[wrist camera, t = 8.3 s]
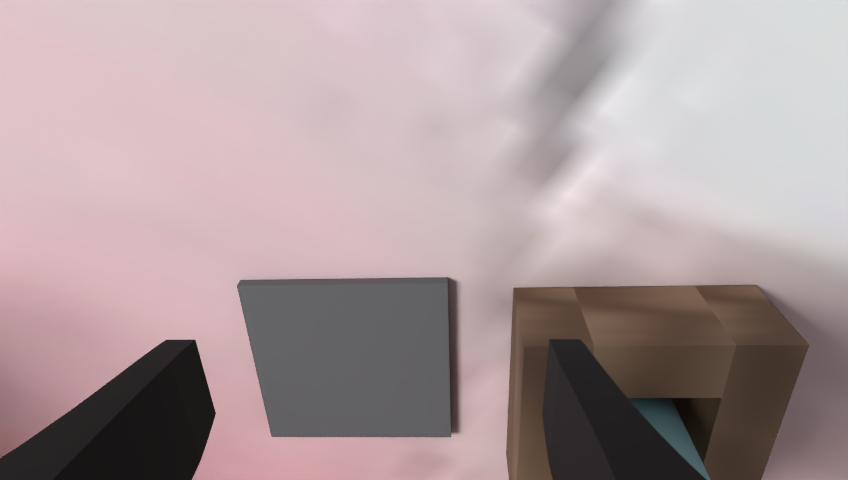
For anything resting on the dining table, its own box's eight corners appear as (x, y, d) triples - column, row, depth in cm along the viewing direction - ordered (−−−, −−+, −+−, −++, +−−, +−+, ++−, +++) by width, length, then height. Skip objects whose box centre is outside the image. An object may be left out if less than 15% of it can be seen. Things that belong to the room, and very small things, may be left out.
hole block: (506, 454, 26) (514, 524, 23) (513, 287, 22) (524, 346, 19) (708, 454, 25) (744, 526, 22) (756, 285, 21) (808, 344, 18)
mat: (274, 429, 26) (271, 436, 25) (240, 280, 22) (236, 285, 22) (450, 430, 25) (451, 437, 25) (447, 277, 22) (447, 283, 21)
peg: (579, 403, 24) (642, 630, 16) (586, 348, 23) (659, 566, 15) (650, 403, 24) (749, 632, 16) (661, 347, 23) (776, 568, 15)
